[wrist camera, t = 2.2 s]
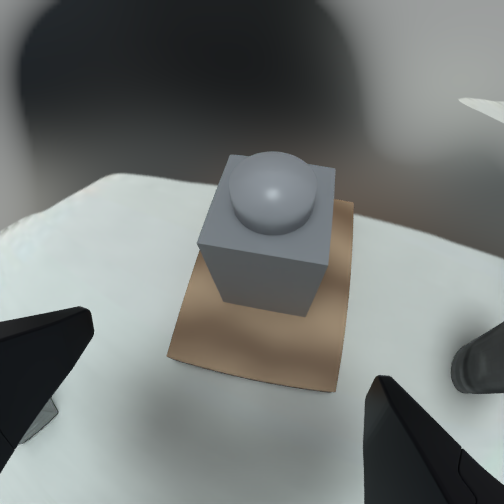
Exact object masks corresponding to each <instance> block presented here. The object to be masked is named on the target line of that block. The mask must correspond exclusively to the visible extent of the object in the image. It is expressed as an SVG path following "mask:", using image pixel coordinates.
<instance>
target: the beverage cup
mask: <svg viewBox="0 0 504 504" xmlns="http://www.w3.org/2000/svg"><path fill="white" fill-rule="evenodd" d="M451 376H452V381H453V384H454V386H455V387H456V388H457V390H458V391H460V392H462V393H472V394H491V393H504V322H502V323H501V324H499V325H498V326H496V327H495V328H493V329H491V330H490V331H488V332H486V333H485V334H483V335H481V336H480V337H478V338H476V339H475V340H473V341H471V342H470V343H469V344H467V345H466V346H464V347H462V348H461V349H460V350H459V351H458V352H457V353H456V355H455V356H454V359H453V362H452V367H451Z"/></svg>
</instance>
